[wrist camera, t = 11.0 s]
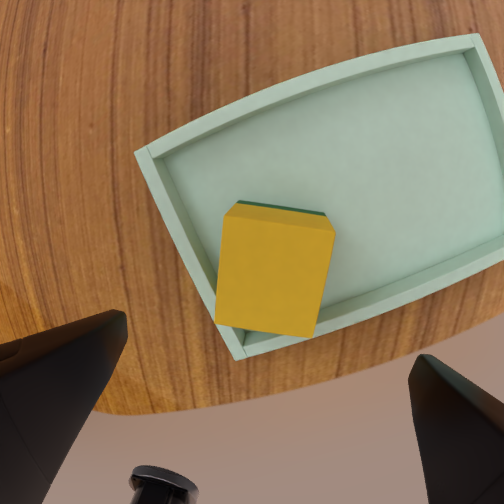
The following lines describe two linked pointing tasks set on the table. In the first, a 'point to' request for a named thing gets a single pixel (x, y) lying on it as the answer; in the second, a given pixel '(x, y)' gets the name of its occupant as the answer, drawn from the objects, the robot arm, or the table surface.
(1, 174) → the table surface
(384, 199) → the tray
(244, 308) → the sponge
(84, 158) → the table surface
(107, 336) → the robot arm
